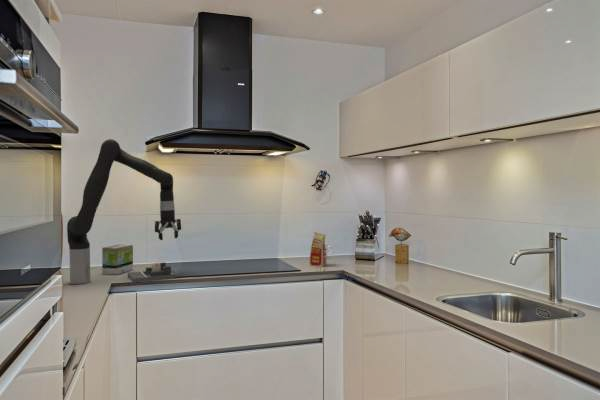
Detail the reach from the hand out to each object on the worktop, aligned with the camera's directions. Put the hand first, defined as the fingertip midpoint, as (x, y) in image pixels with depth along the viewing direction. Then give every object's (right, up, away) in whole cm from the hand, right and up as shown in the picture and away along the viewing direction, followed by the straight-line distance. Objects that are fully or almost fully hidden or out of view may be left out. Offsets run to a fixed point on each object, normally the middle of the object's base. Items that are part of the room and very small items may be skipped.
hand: (168, 239), depth 246 cm
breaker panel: (-7, -20, -7) cm, 22 cm away
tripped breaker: (-5, -17, -6) cm, 19 cm away
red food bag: (+83, -18, +24) cm, 88 cm away
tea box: (-31, -20, +9) cm, 38 cm away
